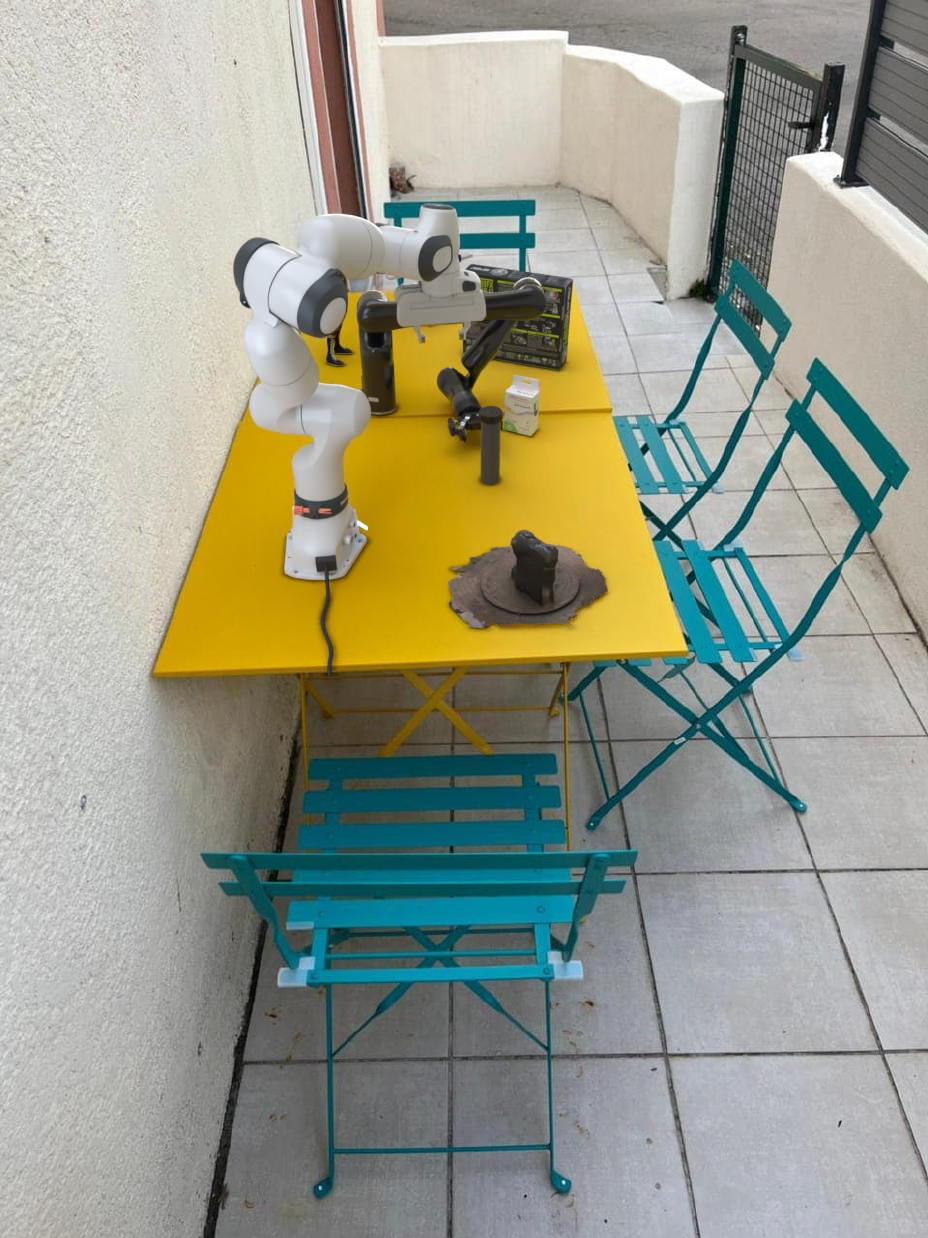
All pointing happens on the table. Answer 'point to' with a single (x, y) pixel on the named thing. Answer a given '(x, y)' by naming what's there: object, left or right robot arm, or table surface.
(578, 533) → the table surface
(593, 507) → the table surface
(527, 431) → the ink box
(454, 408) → the right robot arm
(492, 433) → the dark grey cylinder
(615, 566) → the table surface
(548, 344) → the box
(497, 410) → the lid
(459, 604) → the sculpture
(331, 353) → the figurine
